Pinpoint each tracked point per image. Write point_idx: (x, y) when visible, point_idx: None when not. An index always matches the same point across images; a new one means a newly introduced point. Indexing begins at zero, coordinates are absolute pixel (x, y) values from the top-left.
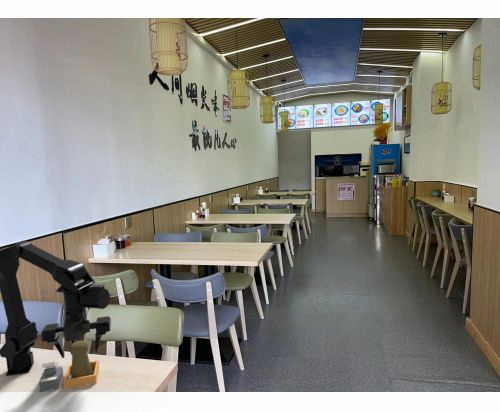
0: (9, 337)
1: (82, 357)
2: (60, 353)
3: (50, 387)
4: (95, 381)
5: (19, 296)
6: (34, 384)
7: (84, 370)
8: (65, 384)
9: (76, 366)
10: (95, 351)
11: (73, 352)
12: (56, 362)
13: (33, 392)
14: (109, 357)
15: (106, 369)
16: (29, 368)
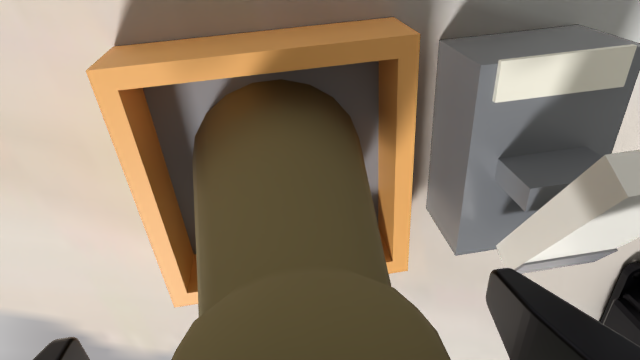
0: None
1: (238, 256)
2: (582, 318)
3: (511, 38)
4: (115, 49)
5: None
6: None
7: (228, 145)
8: (392, 26)
9: (314, 168)
10: (60, 355)
11: (381, 314)
12: (533, 256)
13: (620, 30)
14: (154, 353)
15: (111, 232)
16: (624, 290)
